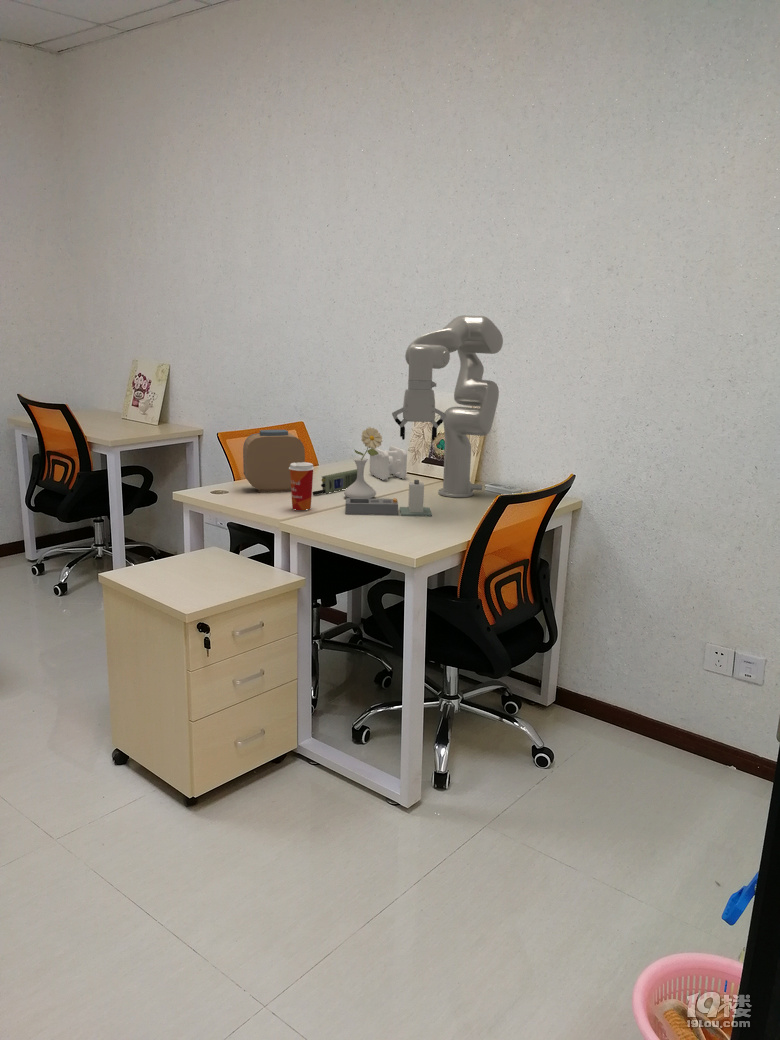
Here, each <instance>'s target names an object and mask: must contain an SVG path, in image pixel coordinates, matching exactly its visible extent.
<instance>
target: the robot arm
mask: <svg viewBox="0 0 780 1040" xmlns="http://www.w3.org/2000/svg"><path fill="white" fill-rule="evenodd" d="M502 334H503V333H502V332H501V331H500V329H499V328H498V327H497V326H496V324H495V323H494V322H493V321H492V320H491V319H490V318H488V317H486V316H484V315H458V316H456V317H454V318H453V319H452V320H451V321H450V322H449V323H448V324H447V325H445V326H444V327H443V328H442V329H438V330H435V331H432V332H429V333H426V334H423V335H421V336H419V337H417V338H416V339H414V340H413V341H412V342H411V343H409V345H408V347H407V348H406V350H405V351H406V352H405V355H404V356H405V361H406V364H407V365H408V379H407V380H408V381H407V382H408V383H407V389H405V390H404V397H403V407H401V408H399V409H396V410H395V411H393V412H392V413H391V415H392V417H393V419H394V421H395V423H396V424H397V425H398V427H400V428H399V429H400V430H399V433H400V434H399V437H400V438H401V439H402V440H405V439H406V436H405V435H406V427H405V425H406V424H407V423H408V422H410V423H411V422H412V423H413V422H415V423H431V425H432V427H431V440H432V441H435V438H437V436H438V435H437V433H438V428H439V426H441V425H442V424H443V429H444V430H443V431H444V457H443V477H442V478H443V479H442V480H443V483H442V488H440V489H439V490H438V494H439V495H440V496H443V497H448V498H470V497H472V496H473V495H474V491H483V484H478V483H477V484H476V483H471V482H472V481H470V480H471V478H470V477H471V460H472V444H471V441H470V439H469V438H468V436H467V435H469V436H476V437H477V436H480V437H482V436H483V437H485V436H487V435H489V433H490V432H491V430H492V427H493V423H494V418H495V414H496V411H497V407H498V401H499V398H500V397H499V396H500V395H499V394H500V391H499V386H498V384H497V383H496V382H495V381H493V380H488V379H483V375H484V372H485V369H484V365H483V363H482V361H481V359H480V358H479V357H478V355H477V354H487V355H488V354H490V355H495V354H497V353H499V352H500V351H501V350H502V348H503V343H504V338H503V335H502ZM456 351H457V355H458V357H459V362H460V367H459V372H458V377H457V380H456V384H455V388H454V392H453V393H454V394H453V399H454V401H455V403H456V404H458V405H460V406H451V407H448V408H447V409H446V410H445V411H441V410H440V409H438V408H436V399H435V391H434V389H433V388H436V387H437V382H435V381H433V369H437V370H440V369H443V368H445V367H447V365H448V364H449V363H450V359H451V353H454V352H456ZM466 406H467V407H466ZM475 407H476V408H475ZM477 407H478V408H477ZM479 407H480V408H479ZM401 414H402V418H403V419H402V420H401V419H399V417H398V415H401ZM436 414H437V415H438V416H440V417H439V419H438V420H437V421H436Z"/></svg>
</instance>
